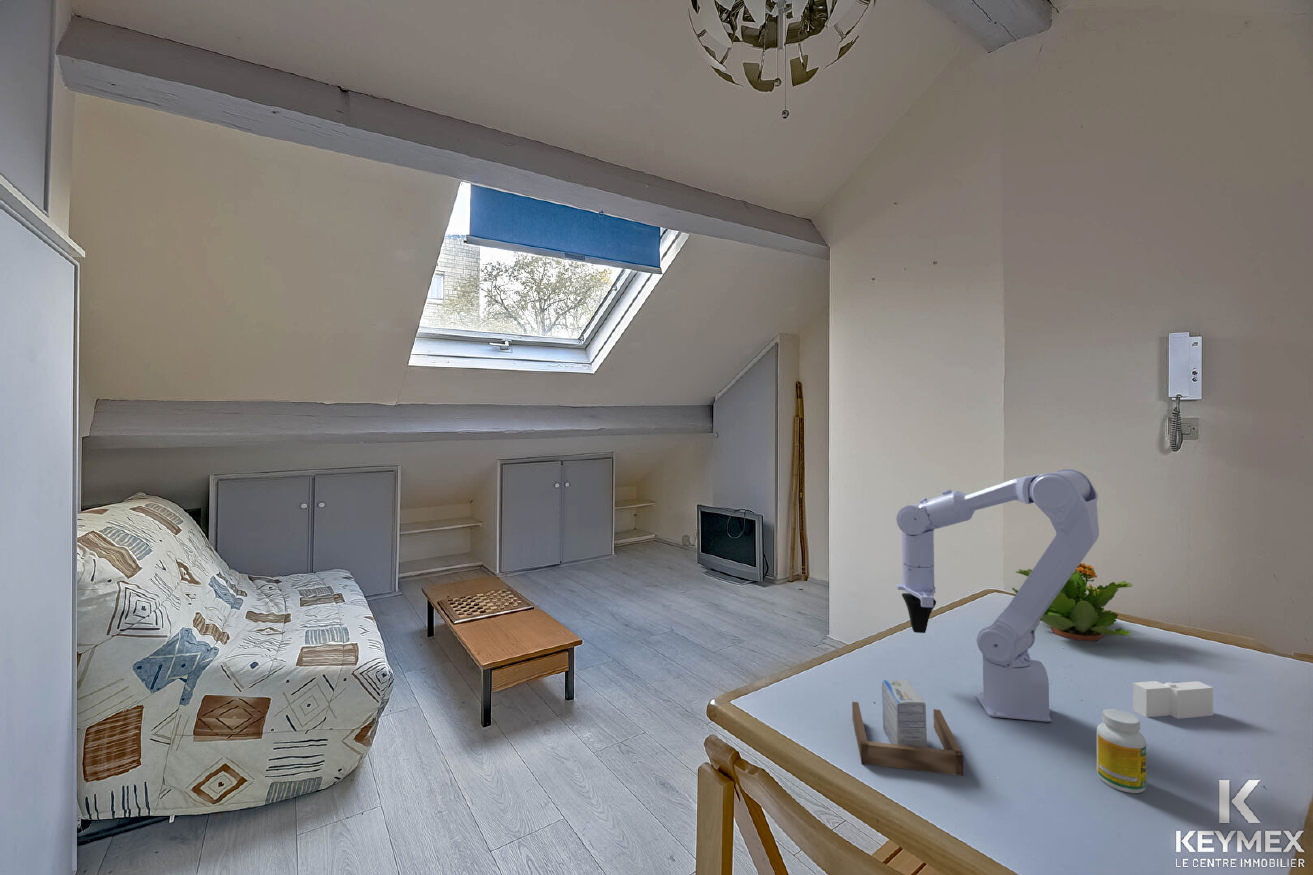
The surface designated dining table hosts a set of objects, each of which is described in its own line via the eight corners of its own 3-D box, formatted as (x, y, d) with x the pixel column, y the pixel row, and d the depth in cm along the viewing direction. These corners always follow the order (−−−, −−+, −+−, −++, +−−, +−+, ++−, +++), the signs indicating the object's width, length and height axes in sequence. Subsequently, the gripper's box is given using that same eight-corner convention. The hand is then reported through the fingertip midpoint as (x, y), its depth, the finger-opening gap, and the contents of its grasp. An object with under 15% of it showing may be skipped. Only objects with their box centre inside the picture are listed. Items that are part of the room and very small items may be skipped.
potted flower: (1174, 656, 118) (1174, 575, 117) (1063, 658, 118) (1062, 577, 117) (1085, 615, 143) (1085, 548, 142) (993, 617, 143) (992, 550, 142)
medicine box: (927, 759, 84) (927, 703, 84) (897, 757, 85) (896, 702, 84) (909, 730, 92) (909, 679, 92) (882, 729, 92) (881, 678, 92)
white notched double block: (1216, 710, 97) (1216, 678, 97) (1239, 742, 87) (1239, 707, 87) (1107, 689, 105) (1107, 660, 105) (1117, 717, 95) (1117, 684, 95)
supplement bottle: (1094, 765, 81) (1094, 702, 81) (1142, 777, 79) (1142, 711, 78) (1099, 786, 77) (1099, 718, 77) (1150, 799, 74) (1150, 729, 74)
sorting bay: (940, 727, 92) (940, 709, 92) (963, 775, 80) (963, 755, 80) (852, 718, 96) (852, 701, 96) (861, 763, 83) (861, 743, 83)
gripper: (889, 554, 118) (890, 617, 118) (904, 573, 104) (905, 644, 104) (925, 555, 116) (926, 619, 116) (945, 574, 102) (945, 646, 102)
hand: (918, 631), depth 110 cm, fingers closed
